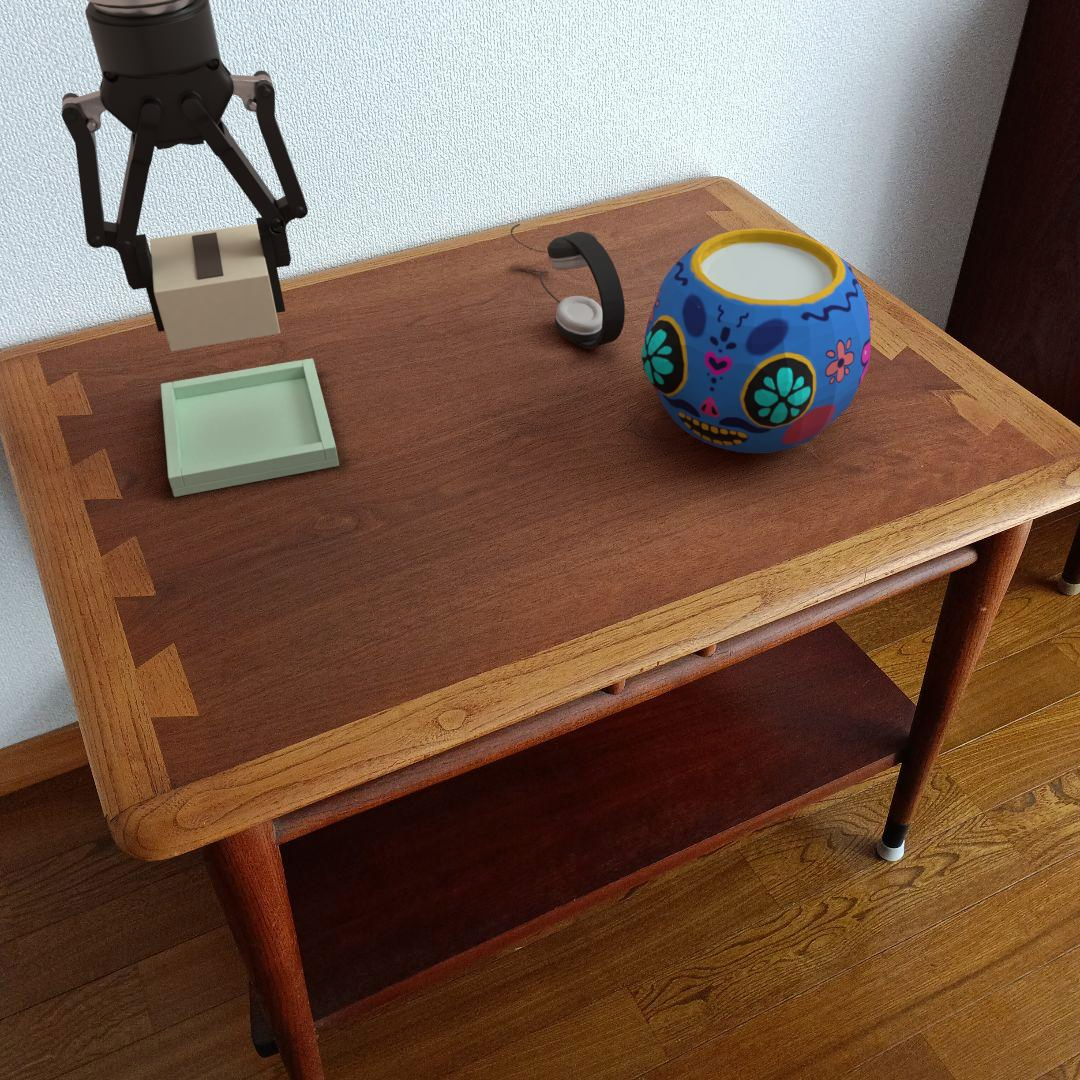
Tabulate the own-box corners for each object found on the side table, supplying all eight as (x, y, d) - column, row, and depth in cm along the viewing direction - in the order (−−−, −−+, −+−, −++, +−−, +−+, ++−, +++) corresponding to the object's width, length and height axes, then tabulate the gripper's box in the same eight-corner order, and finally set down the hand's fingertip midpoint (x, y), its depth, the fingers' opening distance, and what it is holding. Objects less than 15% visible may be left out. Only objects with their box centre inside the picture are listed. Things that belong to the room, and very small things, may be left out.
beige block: (268, 280, 88) (256, 221, 85) (280, 334, 83) (268, 272, 79) (165, 296, 87) (149, 236, 83) (170, 352, 81) (153, 290, 78)
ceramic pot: (601, 449, 91) (607, 288, 80) (692, 343, 102) (708, 189, 91) (804, 521, 84) (839, 355, 74) (878, 400, 95) (918, 241, 85)
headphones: (536, 290, 114) (639, 354, 98) (498, 302, 112) (597, 368, 97) (525, 194, 108) (632, 246, 93) (485, 205, 107) (587, 259, 91)
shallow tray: (316, 376, 98) (312, 357, 97) (339, 466, 89) (335, 446, 88) (166, 402, 96) (160, 383, 94) (174, 497, 87) (168, 477, 85)
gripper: (304, -39, 74) (348, 267, 89) (-29, -7, 69) (79, 309, 85) (321, -3, 68) (364, 315, 84) (-38, 34, 64) (78, 362, 80)
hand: (221, 312), depth 85 cm, fingers closed on beige block, 8 cm apart
